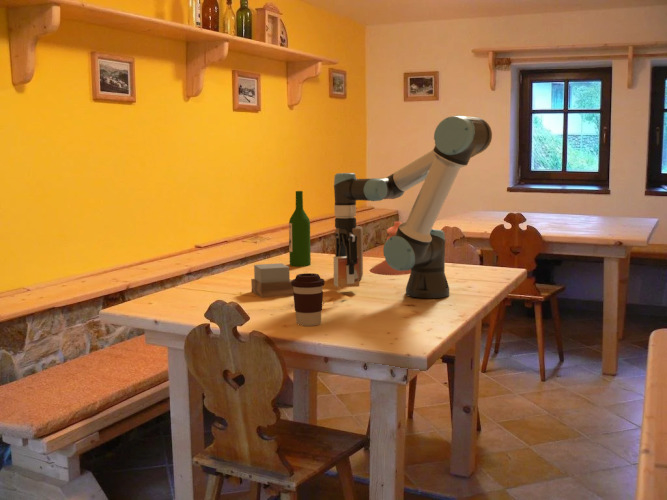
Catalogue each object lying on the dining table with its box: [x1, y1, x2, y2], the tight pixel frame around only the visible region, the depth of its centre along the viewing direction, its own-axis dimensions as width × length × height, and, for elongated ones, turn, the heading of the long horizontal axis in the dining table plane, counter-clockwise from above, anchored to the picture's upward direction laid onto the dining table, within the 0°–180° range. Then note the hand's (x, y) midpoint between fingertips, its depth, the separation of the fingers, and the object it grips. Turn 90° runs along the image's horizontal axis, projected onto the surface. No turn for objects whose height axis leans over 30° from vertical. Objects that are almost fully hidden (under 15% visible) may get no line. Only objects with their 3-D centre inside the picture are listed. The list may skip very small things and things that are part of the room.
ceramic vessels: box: [369, 221, 411, 276], centre depth 306 cm, size 35×21×19 cm, turn 169°
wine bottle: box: [288, 190, 312, 268], centre depth 313 cm, size 9×9×32 cm
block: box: [334, 225, 364, 281], centre depth 284 cm, size 10×10×20 cm
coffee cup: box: [291, 272, 325, 327], centre depth 221 cm, size 10×10×15 cm
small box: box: [333, 256, 360, 288], centre depth 261 cm, size 8×6×10 cm
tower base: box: [251, 278, 294, 299], centre depth 255 cm, size 12×12×5 cm
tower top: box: [253, 263, 291, 283], centre depth 255 cm, size 10×10×5 cm
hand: (346, 282), depth 261 cm, fingers closed on small box, 6 cm apart
